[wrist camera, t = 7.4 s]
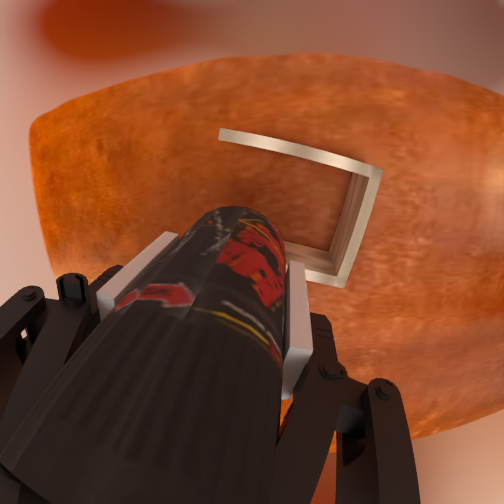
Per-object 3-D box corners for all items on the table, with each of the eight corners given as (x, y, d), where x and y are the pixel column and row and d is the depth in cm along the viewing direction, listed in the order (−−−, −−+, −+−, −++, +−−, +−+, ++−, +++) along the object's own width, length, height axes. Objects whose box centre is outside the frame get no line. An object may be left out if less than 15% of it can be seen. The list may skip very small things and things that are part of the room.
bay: (214, 233, 36) (198, 254, 30) (233, 130, 31) (220, 128, 25) (334, 262, 36) (343, 288, 29) (364, 163, 31) (383, 169, 24)
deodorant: (172, 221, 16) (-34, 427, 2) (270, 193, 15) (168, 558, 1) (206, 305, 18) (109, 530, 4) (295, 288, 17) (290, 569, 3)
